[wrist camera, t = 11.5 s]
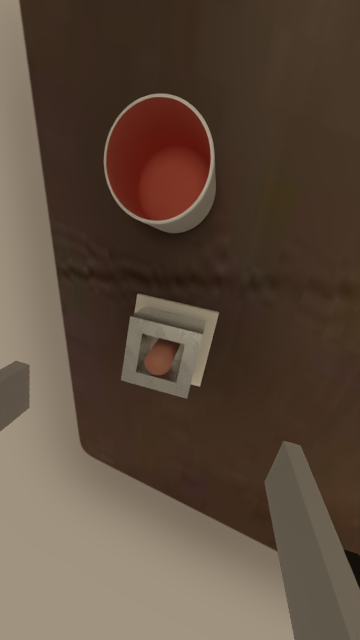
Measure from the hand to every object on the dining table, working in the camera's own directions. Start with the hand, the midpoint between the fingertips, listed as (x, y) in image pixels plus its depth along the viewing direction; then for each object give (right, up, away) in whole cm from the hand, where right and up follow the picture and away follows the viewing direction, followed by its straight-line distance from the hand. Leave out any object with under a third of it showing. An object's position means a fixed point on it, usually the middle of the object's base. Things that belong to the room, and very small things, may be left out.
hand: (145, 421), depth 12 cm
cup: (+1, +22, +18) cm, 28 cm away
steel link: (0, +2, +23) cm, 23 cm away
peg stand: (0, +2, +23) cm, 24 cm away
